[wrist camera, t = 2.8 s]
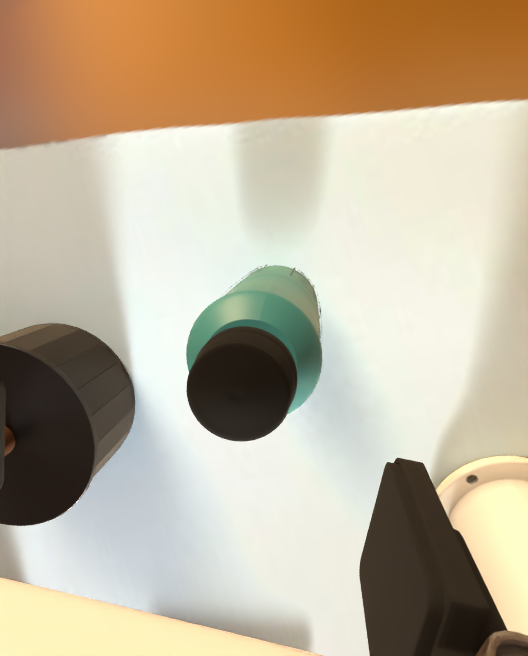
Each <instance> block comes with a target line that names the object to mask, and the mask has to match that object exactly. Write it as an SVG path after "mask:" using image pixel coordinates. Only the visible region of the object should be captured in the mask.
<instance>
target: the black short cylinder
mask: <svg viewBox="0 0 528 656" xmlns="http://www.w3.org/2000/svg"><path fill="white" fill-rule="evenodd" d="M0 342H6V343H10V344H14V345H18V346H21V347H23V348H26V349H28V350H31V351H33V352H35V353H36V354H38V355H40V356H42V357H44V358H45V359H46V360H48V361H49V362H51V363H52V364H54V365H55V366H56V367H57V368H58V369H59V370H60V371H62V372H63V373H64V374H65V375H66V376H67V377H68V378H69V380H70V381H71V382H72V383H73V384H74V385H75V387H76V388H77V390H78V391H79V392H80V394H81V395H82V397H83V399H84V401H85V402H86V404H87V406H88V408H89V411H90V413H91V416H92V418H93V421H94V425H95V429H96V433H97V442H98V457H97V464H96V469H95V472H94V475H93V477H94V476H95V475H96V473H97V472H98V471H99V470H100V469H101V468H102V467H103V466H104V465H105V463H106V462H107V461H108V460H109V459H110V458H111V457H112V456H113V455H114V453H115V452H116V451H117V450H118V449H119V448H120V446H121V445H122V443H123V442H124V440H125V439H126V437H127V435H128V433H129V431H130V429H131V426H132V423H133V419H134V413H135V398H134V391H133V387H132V383H131V380H130V378H129V375H128V373H127V371H126V369H125V367H124V365H123V364H122V362H121V361H120V359H119V358H118V357H117V355H116V354H115V353H114V352H113V351H112V350H111V349H110V348H109V347H108V346H107V345H106V344H105V343H104V342H102V341H101V340H100V339H98V338H97V337H96V336H94V335H92V334H90V333H88V332H87V331H84V330H82V329H79V328H77V327H73V326H70V325H65V324H41V325H35V326H30V327H27V328H24V329H21V330H19V331H16V332H13V333H10V334H7V335H4V336H1V337H0Z"/></svg>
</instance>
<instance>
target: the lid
mask: <svg viewBox="0 0 528 656" xmlns="http://www.w3.org/2000/svg"><path fill="white" fill-rule="evenodd" d="M0 380H1V383H3V384H4V385H5V387H6V412H5V456H4V482H3V485H2V487H1V489H0V524H6V525H16V526H25V525H34V524H39V523H44V522H46V521H49V520H52V519H54V518H56V517H58V516H60V515H62V514H64V513H65V512H66V511H68V510H69V509H70V508H72V506H73V505H74V504H75V503H76V502H77V501H78V500H79V499H80V498H81V497H82V496H83V494H84V493H85V491H86V490H87V488H88V487H89V484H90V482H91V480H92V478H93V475H94V472H95V469H96V464H97V457H98V442H97V433H96V429H95V425H94V421H93V418H92V416H91V413H90V411H89V408H88V406H87V404H86V402H85V401H84V399H83V397H82V395H81V394H80V392H79V391H78V390H77V388H76V387H75V385H74V384H73V383H72V382H71V381H70V380H69V378H68V377H67V376H66V375H65V374H64V373H63V372H62V371H60V370H59V369H58V368H57V367H56V366H55V365H54V364H52V363H51V362H49V361H48V360H46V359H45V358H44V357H42V356H40V355H38V354H36V353H35V352H33V351H31V350H28V349H26V348H23V347H21V346H18V345H14V344H10V343H6V342H0Z"/></svg>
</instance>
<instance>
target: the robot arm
mask: <svg viewBox="0 0 528 656" xmlns="http://www.w3.org/2000/svg"><path fill="white" fill-rule="evenodd" d="M5 412H6V387H5V385H4V384H3V383H1V380H0V489H1V487H2V485H3V482H4V456H5ZM469 475H470V476H469ZM360 583H361V591H362V598H363V606H364V614H365V621H366V629H367V637H368V644H369V652H370V656H528V458H525V457H518V456H494V457H489V458H484V459H480V460H477V461H474V462H472V463H469V464H466V465H465V466H463V467H461V468H459V469H458V470H456V471H454V472H453V473H452V474H450V475H449V476H448V477H447V478H446V479H445V480H443V481H442V483H441V484H440V485H439V486H438V488H437V489H436V490H435V488H434V485H433V483H432V481H431V479H430V477H429V475H428V472H427V470H426V468H425V466H424V464H423V463H421V462H416V461H411V460H406V459H401V458H397V459H396V460H395V462H394V463H390V462H387V463H386V465H385V468H384V472H383V476H382V480H381V484H380V487H379V491H378V495H377V499H376V503H375V507H374V510H373V514H372V518H371V522H370V526H369V529H368V533H367V537H366V541H365V545H364V548H363V552H362V556H361V561H360ZM0 656H323V655H319V654H316V653H312V652H308V651H304V650H300V649H296V648H291V647H287V646H283V645H279V644H275V643H271V642H267V641H263V640H259V639H255V638H251V637H246V636H242V635H238V634H234V633H230V632H226V631H222V630H218V629H214V628H210V627H206V626H201V625H197V624H193V623H189V622H185V621H181V620H177V619H173V618H169V617H165V616H160V615H156V614H152V613H148V612H144V611H139V610H135V609H131V608H127V607H123V606H118V605H114V604H110V603H106V602H102V601H97V600H93V599H89V598H85V597H81V596H76V595H72V594H68V593H64V592H59V591H55V590H51V589H47V588H43V587H38V586H34V585H30V584H26V583H22V582H18V581H13V580H9V579H5V578H1V577H0Z"/></svg>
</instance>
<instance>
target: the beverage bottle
mask: <svg viewBox="0 0 528 656" xmlns="http://www.w3.org/2000/svg"><path fill="white" fill-rule="evenodd" d="M266 266H267V265H266ZM261 267H262V266H261ZM261 267H260V268H261ZM256 269H257V268H256ZM256 269H255V270H256ZM294 269H295V268H294ZM294 269H291V268H289V267H285V266H268V267H264V268H261V269H258V270H256V271H254V272H253V273H252V274H250V275H249V274H248V275H249V276H248V277H246V278H245V279H244V280H243V281H241V282H240V283H239V284H238V285H236V286H235V287H234V288H233V289H232V290H231V291H229V293H227V294H226V295H225V296H223V297H221V298H220V299H218V300H216V301H215V302H213V303H212V304H211V305H209V306H208V307H207V308H206V309H205V310H204V311H203V312H202V313H201V314H200V316H199V317H198V318H197V320H196V322H195V323H194V325H193V327H192V329H191V332H190V335H189V338H188V343H187V354H186V355H187V365H188V370H189V375H188V380H187V398H188V402H189V405H190V408H191V410H192V412H193V414H194V416H195V417H196V419H197V420H198V421H199V422H200V424H201V425H202V426H204V427H205V428H206V429H207V430H208V431H210V432H211V433H213V434H215V435H216V436H219V437H221V438H224V439H227V440H232V441H251V440H256V439H259V438H261V437H264V436H266V435H268V434H269V433H271V432H272V431H273V430H275V429H276V428H277V427H278V426H279V425H280V424H281V423H282V421H283V420H284V419H285V417H286V415H287V414H289V413H290V412H292V411H294V410H295V409H297V408H298V407H299V406H301V405H302V404H303V403H304V402H305V401H306V400H307V398H308V397H309V396H310V395H311V393H312V392H313V390H314V388H315V386H316V384H317V382H318V379H319V376H320V373H321V367H322V349H321V343H320V338H321V337H320V334H321V333H322V332H321V333H320V323H319V318H320V316H319V314H321V309H320V313H318V304H317V297H316V294H315V291H314V289H313V287H314V285H313V284H312V285H313V286H312V285H311V284H310V282H309V281H308V280H307V279H306V278H305V277H304V276H303V275H302V274H303V273H302V272H301V273H302V274H301V273H299V271H300V270H299V271H296V270H294ZM246 276H247V275H246ZM310 281H311V280H310ZM231 287H232V286H231ZM317 294H318V293H317ZM318 301H319V300H318ZM321 319H322V318H321ZM321 328H322V327H321ZM322 329H323V328H322ZM321 342H322V341H321Z"/></svg>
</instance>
